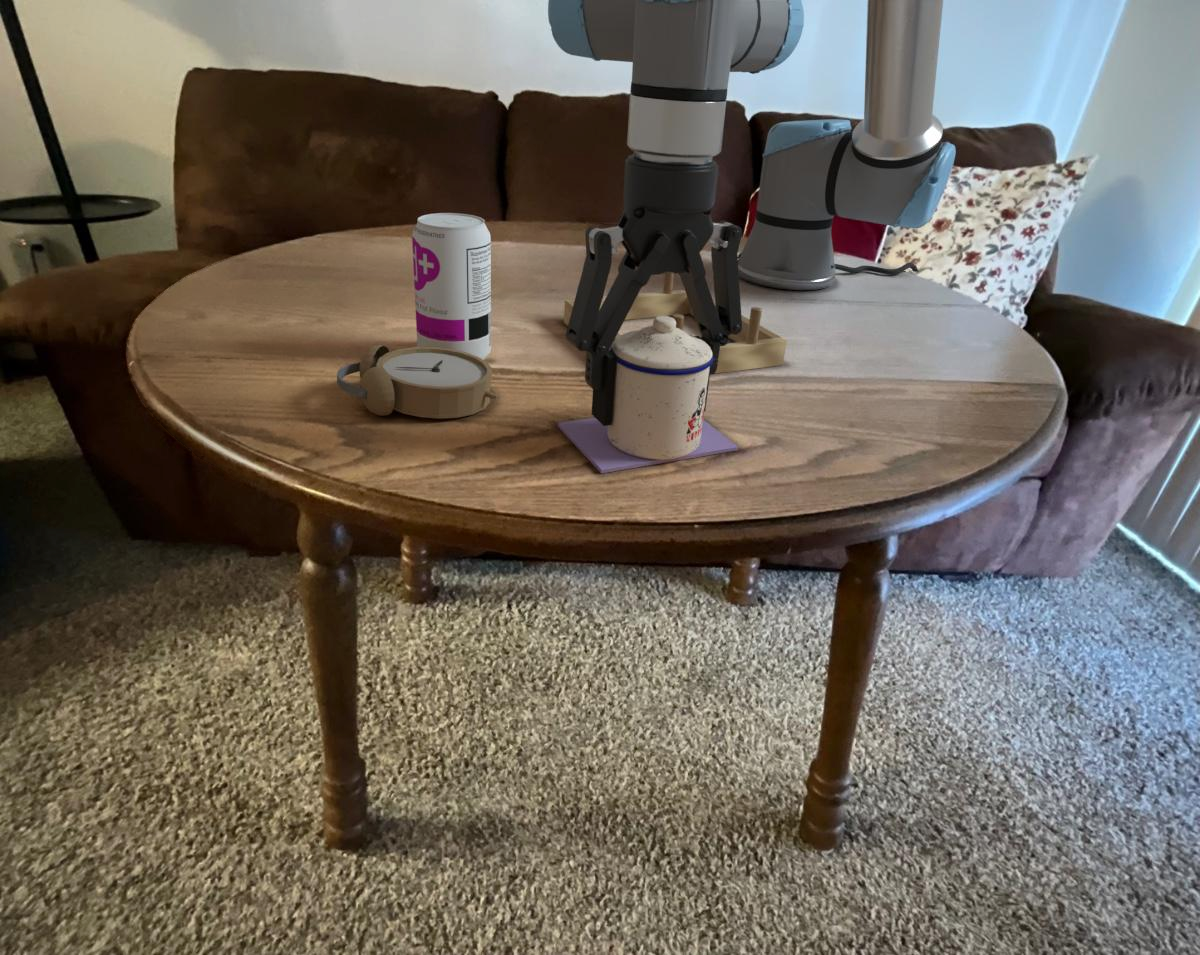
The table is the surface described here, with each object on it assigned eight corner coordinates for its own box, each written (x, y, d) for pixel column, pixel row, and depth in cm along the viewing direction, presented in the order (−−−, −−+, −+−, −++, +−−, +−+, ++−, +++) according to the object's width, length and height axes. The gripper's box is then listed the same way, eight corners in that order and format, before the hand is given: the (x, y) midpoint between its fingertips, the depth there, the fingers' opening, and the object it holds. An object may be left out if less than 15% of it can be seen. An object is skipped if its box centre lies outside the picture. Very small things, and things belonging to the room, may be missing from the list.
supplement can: (431, 372, 91) (425, 230, 84) (409, 347, 97) (402, 213, 90) (501, 363, 94) (502, 226, 87) (476, 339, 101) (474, 210, 93)
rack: (692, 310, 116) (698, 259, 112) (783, 365, 99) (793, 306, 96) (563, 322, 108) (565, 268, 105) (637, 383, 91) (643, 321, 88)
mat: (684, 408, 86) (684, 404, 86) (737, 450, 78) (738, 446, 78) (557, 426, 81) (557, 422, 81) (601, 473, 73) (601, 469, 73)
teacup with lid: (707, 465, 75) (724, 339, 69) (605, 460, 74) (613, 333, 69) (694, 409, 85) (707, 296, 79) (603, 404, 85) (611, 291, 79)
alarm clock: (503, 390, 80) (338, 370, 75) (494, 437, 82) (333, 420, 77) (487, 349, 90) (340, 329, 85) (479, 392, 92) (335, 374, 87)
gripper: (759, 148, 75) (727, 384, 86) (528, 149, 66) (524, 411, 77) (811, 162, 69) (769, 413, 80) (564, 164, 60) (555, 446, 71)
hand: (649, 412), depth 78 cm, fingers closed on teacup with lid, 9 cm apart
